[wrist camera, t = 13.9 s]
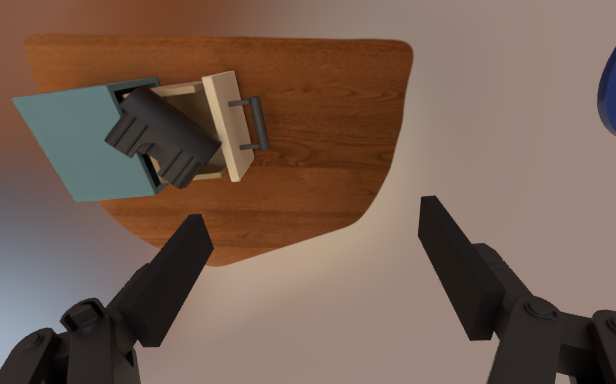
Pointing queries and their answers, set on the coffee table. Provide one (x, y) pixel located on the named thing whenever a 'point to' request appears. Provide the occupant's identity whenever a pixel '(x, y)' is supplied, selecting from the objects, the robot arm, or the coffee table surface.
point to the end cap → (162, 136)
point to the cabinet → (89, 140)
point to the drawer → (219, 122)
